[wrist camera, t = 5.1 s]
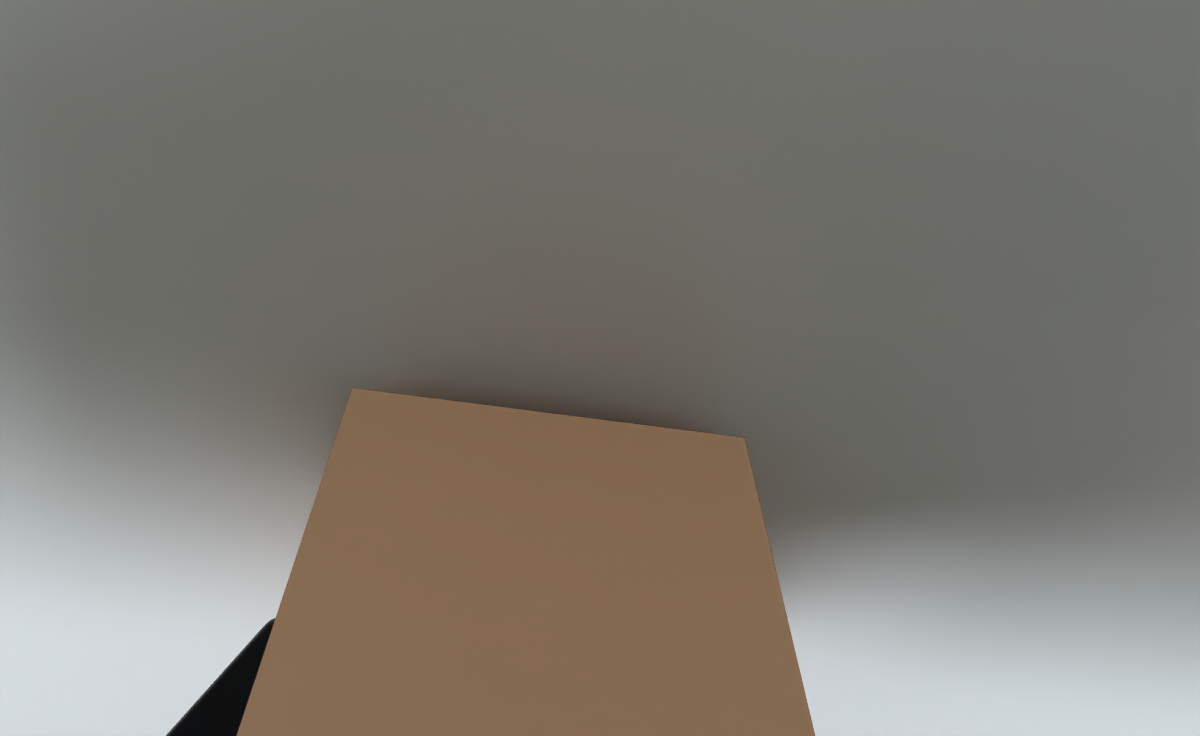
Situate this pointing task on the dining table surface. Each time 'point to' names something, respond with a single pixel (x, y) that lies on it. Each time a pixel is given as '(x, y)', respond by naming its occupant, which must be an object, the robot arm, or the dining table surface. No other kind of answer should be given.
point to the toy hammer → (528, 584)
